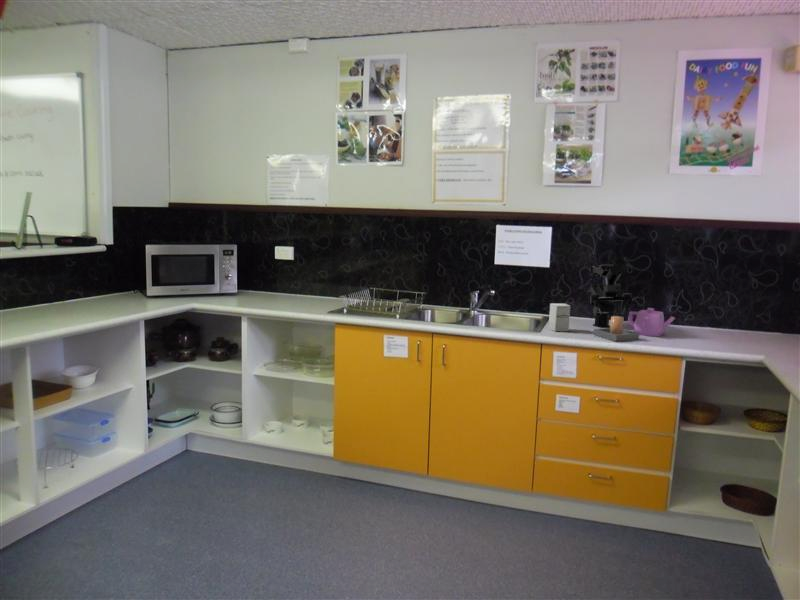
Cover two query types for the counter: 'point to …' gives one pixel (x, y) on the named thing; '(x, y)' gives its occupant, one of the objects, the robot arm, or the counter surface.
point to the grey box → (559, 317)
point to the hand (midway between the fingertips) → (612, 314)
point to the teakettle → (649, 322)
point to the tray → (624, 336)
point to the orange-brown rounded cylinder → (616, 325)
